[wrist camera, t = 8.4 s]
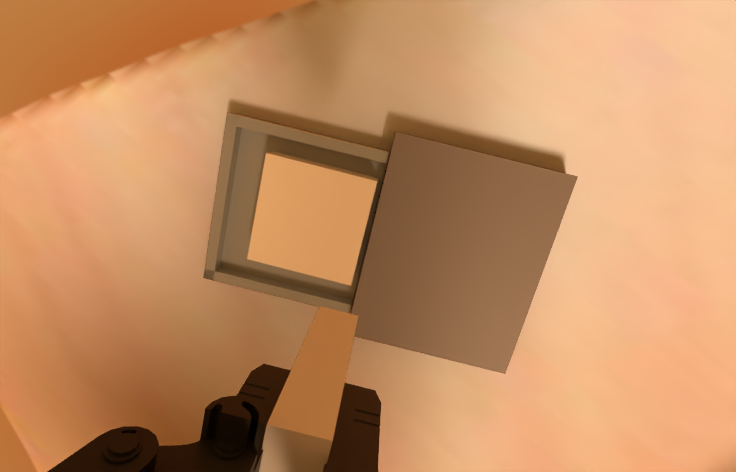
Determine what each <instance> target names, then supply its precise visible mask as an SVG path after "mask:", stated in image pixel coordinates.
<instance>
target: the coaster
mask: <svg viewBox="0 0 736 472" xmlns="http://www.w3.org/2000/svg"><path fill="white" fill-rule="evenodd" d="M378 179H379V178H378V177H374V176H370V175H366V174H362V173H358V172H354V171H350V170H346V169H343V168H339V167H335V166H331V165H327V164H323V163H319V162H315V161H311V160H307V159H304V158H300V157H296V156H292V155H288V154H284V153H280V152H269V153H266V156H265V162H264V167H263V173H262V179H261V184H260V190H259V195H258V201H257V206H256V212H255V218H254V223H253V229H252V234H251V240H250V245H249V251H248V256H247V259H249V260H253V261H257V262H260V263H264V264H268V265H272V266H276V267H280V268H284V269H288V270H292V271H296V272H299V273H303V274H307V275H311V276H315V277H319V278H323V279H327V280H331V281H334V282H338V283H342V284H346V285H350V286H351V284H352V280H353V277H354V273H355V269H356V265H357V262H358V258H359V254H360V250H361V246H362V242H363V238H364V234H365V230H366V226H367V222H368V218H369V214H370V210H371V206H372V202H373V198H374V194H375V190H376V186H377V182H378Z"/></svg>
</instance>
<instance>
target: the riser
mask: <svg viewBox="0 0 736 472" xmlns="http://www.w3.org/2000/svg"><path fill="white" fill-rule="evenodd" d="M577 177H578V176H573V175H569V174H565V173H561V172H557V171H553V170H549V169H545V168H541V167H537V166H533V165H529V164H525V163H521V162H517V161H513V160H509V159H505V158H500V157H496V156H492V155H488V154H484V153H480V152H476V151H472V150H468V149H464V148H460V147H456V146H452V145H448V144H444V143H440V142H436V141H432V140H427V139H423V138H419V137H415V136H411V135H407V134H403V133H399V132H396V134H395V138H394V142H393V146H392V150H391V154H390V158H389V162H388V166H387V170H386V174H385V178H384V182H383V186H382V190H381V194H380V198H379V202H378V206H377V210H376V214H375V219H374V223H373V227H372V231H371V235H370V239H369V243H368V247H367V251H366V255H365V259H364V263H363V267H362V271H361V275H360V279H359V283H358V287H357V291H356V295H355V299H354V303H353V307H352V311H351V314H353V315H357V316H358V320H357V325H356V330H355V335H354V336H355V337H359V338H363V339H367V340H371V341H375V342H379V343H383V344H387V345H391V346H396V347H400V348H404V349H408V350H412V351H416V352H420V353H424V354H428V355H432V356H436V357H440V358H444V359H448V360H452V361H456V362H460V363H464V364H468V365H472V366H476V367H480V368H484V369H488V370H492V371H496V372H500V373H504V374H505V373H506V370H507V367H508V365H509V362H510V359H511V356H512V354H513V351H514V348H515V346H516V343H517V340H518V337H519V335H520V332H521V329H522V327H523V324H524V321H525V318H526V316H527V313H528V310H529V308H530V305H531V302H532V299H533V297H534V294H535V291H536V289H537V286H538V283H539V280H540V278H541V275H542V272H543V270H544V267H545V264H546V261H547V259H548V256H549V253H550V250H551V248H552V245H553V242H554V240H555V237H556V234H557V231H558V229H559V226H560V223H561V221H562V218H563V215H564V212H565V210H566V207H567V204H568V202H569V199H570V196H571V193H572V191H573V188H574V185H575V183H576V180H577Z"/></svg>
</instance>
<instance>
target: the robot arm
mask: <svg viewBox="0 0 736 472" xmlns="http://www.w3.org/2000/svg"><path fill="white" fill-rule="evenodd" d="M357 320H358V316H357V315H353V314H349V313H345V312H341V311H337V310H333V309H329V308H325V307H321V306H320V307H319V309H318V311H317V314H316V316H315V318H314V320H313V322H312V325H311V327H310V329H309V331H308V334H307V336H306V338H305V340H304V343H303V345H302V347H301V349H300V351H299V354H298V356H297V358H296V360H295V363H294V365H293V367H292V369H291V371H290V370H286V369H282V368H278V367H274V366H270V365H266V364H263V365H261V366H259V367H258V368H256V369H255V370H253V371H251V373H250V375H249V376H248V378H247V380H246V381H245V383H244V384H243V386H242V388H241V389H240V391H239V394H237V396H229V397H222V398H220V399H218V400H215V401H213V402H212V403H211V404H210V405H209V406H207V407H206V408H205V414H204V420H203V426H202V433H201V439H200V441H198V442H195V443H192V444H188V445H178V446H159V443H158V440H157V437H156V435H155V434H153V433H152V432H151V431H150V430H148V429H145V428H141V427H121V428H117V429H113V430H110V431H108V432H106V433H104V434H102V435H100V436H98V437H97V438H96V439H94V440H93V441H91V442H90V443H88V444H87V445H85V446H84V447H83V448H81V449H80V450H78V451H77V452H75V453H74V454H72V455H71V456H70V457H68V458H67V459H65V460H64V461H62V462H61V463H59V464H58V465H57V466H55V467H54V468H52V469H51V470H49V471H48V472H378V452H379V433H380V428H379V427H380V414H381V402H380V400H379V398H378V395H377V393H376V391H375V390H371V389H367V388H363V387H359V386H355V385H351V384H347V383H345V378H346V374H347V369H348V364H349V359H350V354H351V349H352V344H353V340H354V335H355V330H356V325H357Z"/></svg>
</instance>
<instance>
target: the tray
mask: <svg viewBox="0 0 736 472" xmlns="http://www.w3.org/2000/svg"><path fill="white" fill-rule="evenodd" d="M269 152H280V153H284V154H288V155H292V156H296V157H300V158H304V159H307V160H311V161H315V162H319V163H323V164H327V165H331V166H335V167H339V168H343V169H346V170H350V171H354V172H358V173H362V174H366V175H370V176H374V177H378V178H379V179H378V182H377V186H376V190H375V194H374V198H373V202H372V206H371V210H370V214H369V218H368V222H367V226H366V230H365V234H364V238H363V242H362V246H361V250H360V254H359V258H358V262H357V265H356V269H355V273H354V277H353V280H352V284H351V286H350V285H346V284H342V283H338V282H334V281H331V280H327V279H323V278H319V277H315V276H311V275H307V274H303V273H299V272H296V271H292V270H288V269H284V268H280V267H276V266H272V265H268V264H264V263H260V262H257V261H253V260H249V259H247V256H248V251H249V245H250V240H251V234H252V229H253V223H254V218H255V212H256V206H257V201H258V195H259V190H260V184H261V179H262V173H263V167H264V162H265V156H266V153H269ZM388 157H389V151H385V150H381V149H377V148H373V147H369V146H365V145H361V144H357V143H353V142H349V141H345V140H341V139H337V138H333V137H329V136H324V135H320V134H316V133H312V132H308V131H304V130H300V129H296V128H292V127H288V126H284V125H280V124H276V123H272V122H268V121H264V120H260V119H256V118H252V117H247V116H243V115H239V114H235V113H228V112H227V118H226V125H225V132H224V139H223V146H222V153H221V160H220V167H219V174H218V180H217V187H216V194H215V201H214V208H213V215H212V222H211V229H210V236H209V243H208V250H207V257H206V264H205V271H204V278H206V279H210V280H214V281H218V282H222V283H226V284H230V285H234V286H238V287H242V288H246V289H250V290H254V291H258V292H262V293H266V294H270V295H274V296H278V297H282V298H286V299H290V300H294V301H298V302H302V303H306V304H310V305H314V306H318V307H320V306H321V307H325V308H329V309H333V310H337V311H341V312H345V313H349V314H350V310H351V306H352V302H353V298H354V294H355V290H356V286H357V282H358V278H359V274H360V270H361V266H362V262H363V258H364V254H365V250H366V246H367V242H368V237H369V233H370V229H371V225H372V221H373V217H374V213H375V209H376V205H377V201H378V197H379V193H380V189H381V185H382V181H383V177H384V173H385V169H386V165H387V161H388Z"/></svg>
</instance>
